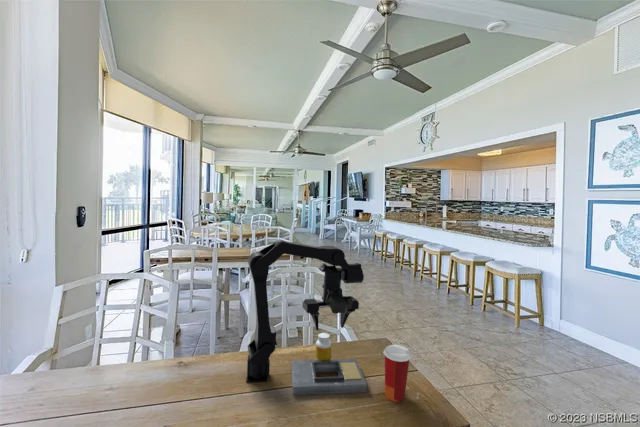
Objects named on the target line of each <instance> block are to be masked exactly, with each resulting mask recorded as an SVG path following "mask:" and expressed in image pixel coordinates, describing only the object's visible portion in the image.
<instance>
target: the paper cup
mask: <svg viewBox="0 0 640 427" xmlns="http://www.w3.org/2000/svg"><path fill="white" fill-rule="evenodd" d="M383 355H384V392H385V393H384V394H385V397H386V399H388V400H389V401H391V402H395V403H400V402H403V401H404V399H405V397H406V390H407V382H408V374H409V373H408V372H409V364H410V359H412V358H411V357H412V356H411V353H410V351H409V349H408V348H407V347H405V346H403V345H399V344H390V345H387V346H386V347H385V348H384V350H383Z"/></svg>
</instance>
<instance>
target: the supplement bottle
mask: <svg viewBox="0 0 640 427" xmlns="http://www.w3.org/2000/svg"><path fill="white" fill-rule="evenodd" d="M317 337H318V339H317V340H316V342H315V359H314V360H332V342H331V338H330V337H331V336H330V334H329V333H327V332H321V333H319V334H318V336H317Z"/></svg>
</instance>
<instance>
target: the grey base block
mask: <svg viewBox="0 0 640 427" xmlns="http://www.w3.org/2000/svg"><path fill="white" fill-rule="evenodd" d="M316 373H337V376H323V377H322V376H320V377H319V376H318V377H317V376H316ZM291 379H292V380H291V383H292V396H305V395H307V396H308V395H329V394H330V395H331V394H356V393H358V394H359V393H367V388H368V385H367V384H368V383H367V381H366V379H365V377H364V375H363V372H362V370H361V368H360V365H359V363H358V361H357V359H356V358H353V359H352V358H351V359H349V358H346V359H342V358H341V359H331V360H315V359H312V360H311V359H308V360H307V359H306V360H305V359H304V360H303V359H301V360H292V361H291Z"/></svg>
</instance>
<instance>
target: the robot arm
mask: <svg viewBox="0 0 640 427" xmlns="http://www.w3.org/2000/svg"><path fill="white" fill-rule="evenodd" d="M283 255H290V256H297V257H302V258H307V259H314V260H318V261H321V262H323V264H322V265H320V266H319V267H318V270H319V271H320V272H322V273H323V274H324V276H323V277H324V278H323V284H322V285H321V287H322V290H323V293H322V294H323V295H322V296H321V300H322V301H317V300H316V299H315V298H306V299H304V300H303V301H302V308H303V310H304V311H305V312H306V314H307V313H308V314H309V315H310V316H311V318H312V321H313V325H314V328H315V330H316V331H317V332H318V331H319V316H320V312H319V311H320V308H321V309H322V308H330V310H331V313H332V314H334V315H337V314H340V320H339V321H340V328H341V329H343V328H344V327H345V323H347V320H348V318H349V315H350V314H351V313H353V312H356V310H359V309H360V301H359V300H357V299H356V298H355V297H354V296H351V295H349V296H346V295H343V288H341V285H342V282H343V283H344V284H345V285H347V284H361V283H363V282H364V277H365V274H364V271H363V269H362V264H361V263H359V262H354V263H348V261H347V260H346V256H345V252H344V251H343V250H342V249H341V248H338V247H336V246H335V245H321V246H315V245H308V244H303V243H297V242H292V241H286V240H283V239H278V240H276V241H275V242H273V243H272V244H269V245H268V246H266V247H264V248H262V249H261V250H259V251H254V252H252V253H251V254H250V255H249V256H248V258H247V264H248V267H249V271H250V274H251V277H252V281H253V292H254V303H255V304H254V305H255V316H256V317H255V318H256V327H255V329H254V330H255V331H254V339H252V340H251V342H250V343H249V344H248V345H247V350H248V356H247V364H246V368H247V369H246V370H247V371H246V377H245V378H246V380H245V382H246V383H252V382H256V383H257V382H268V377H269V376H270V370H271V368H270V367H271V366H270V365H271V360H270V357H271V355H272V354H273V353H274V352H275V351H276V346H278V342H277V332H276V329H275V327H274V324H271V325H270V314H269V312H270V311H269V302H268V290H267V280H268V278H269V271H270V270H269V269H270V266H272V265H273V264H274V263H275V262H277V261H278V259H280V258H281V257H282V256H283ZM327 264H329V265H327Z"/></svg>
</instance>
